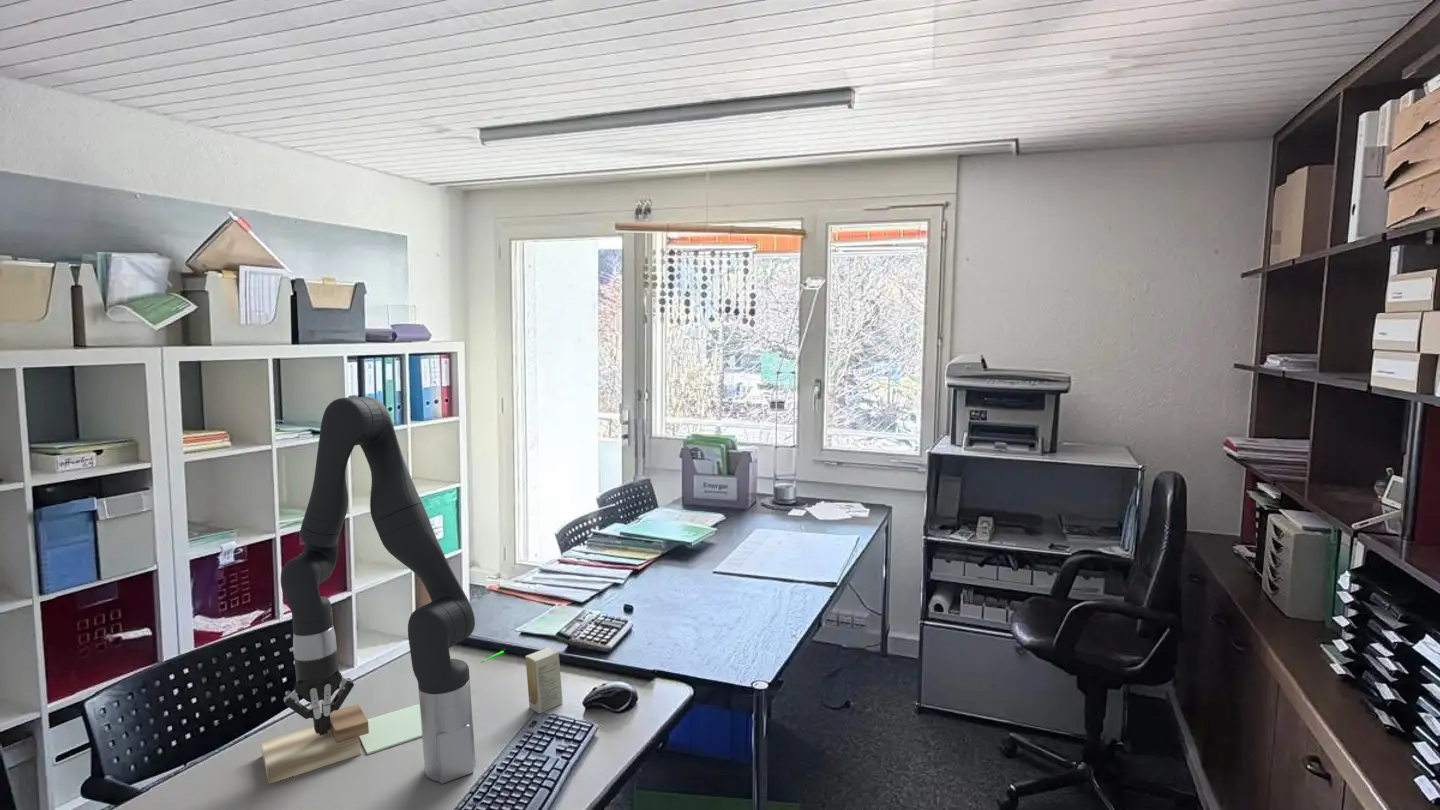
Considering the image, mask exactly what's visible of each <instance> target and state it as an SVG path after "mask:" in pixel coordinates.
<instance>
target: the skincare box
mask: <svg viewBox="0 0 1440 810" xmlns="http://www.w3.org/2000/svg"><path fill="white" fill-rule="evenodd" d="M559 653H560V652H559V651H558V650H556V649H553V648H552V647H549V646H547V647H544V648H541V649H540V650H537V651H534V652H532V653H529V654H527V655H525V667H526V668H525V669H526V680H527V691H528V704H529V708H530V709H531V710H533V711H534V712H536V713H538V714H541V713H544V712H547V711H548V710H552V709H553V708H554V707H557V706H559V705H561V704H563V691H562V690H563V689H562V679H561V666H560V654H559Z"/></svg>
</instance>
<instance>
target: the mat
mask: <svg viewBox="0 0 1440 810" xmlns="http://www.w3.org/2000/svg"><path fill="white" fill-rule="evenodd" d="M366 719H367V718H366ZM367 720H368V727H369V733H368V734H365V735H361V736H358V738H359V740H360V743H361V744H362V747H363V749H364V751H365V753H366V755H371V754H373V753H377V752H380V751H382V750H386V749H388V748H392V747H396V746H399V745H401V744H404V743H407V742H410V741H413V740H416V739H417V740H418V739H420V738H422V728H421V716H420V703H417V704H414V705H410V706H407V707H404V708H401V709H398V710H397V709H396V710H395V711H391V712H388V713H384V714H381V715H378V716H374V717H371V718H368V719H367Z"/></svg>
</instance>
